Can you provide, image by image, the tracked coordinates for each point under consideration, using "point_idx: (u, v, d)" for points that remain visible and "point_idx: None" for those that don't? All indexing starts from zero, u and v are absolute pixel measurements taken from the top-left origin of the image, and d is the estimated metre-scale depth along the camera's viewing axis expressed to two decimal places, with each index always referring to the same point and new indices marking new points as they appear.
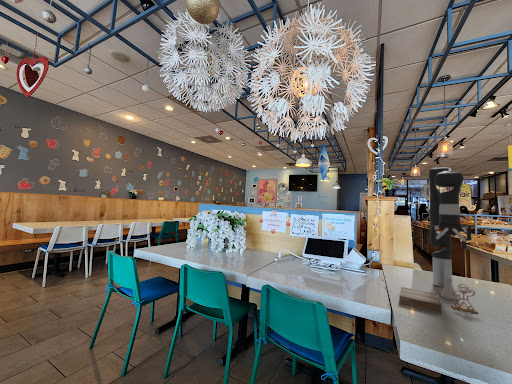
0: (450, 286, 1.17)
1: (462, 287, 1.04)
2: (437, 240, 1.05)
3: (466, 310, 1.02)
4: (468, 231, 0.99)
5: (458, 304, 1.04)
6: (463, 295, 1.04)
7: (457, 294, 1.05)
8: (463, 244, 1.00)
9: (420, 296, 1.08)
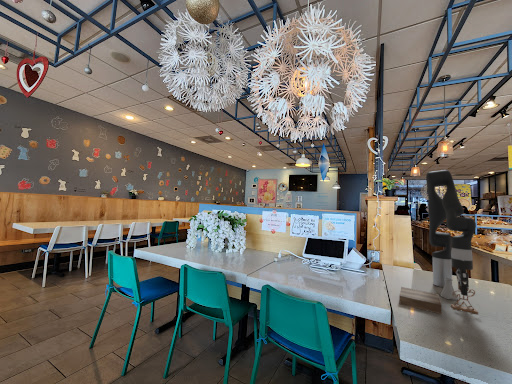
0: (450, 286, 1.17)
1: None
2: (466, 288, 1.00)
3: (466, 310, 1.02)
4: None
5: (458, 304, 1.04)
6: (463, 295, 1.04)
7: (457, 294, 1.05)
8: None
9: (420, 296, 1.08)
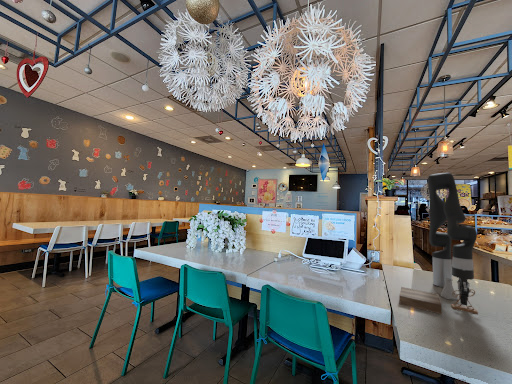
0: (450, 286, 1.17)
1: None
2: (466, 298, 1.03)
3: (466, 310, 1.02)
4: None
5: (458, 304, 1.05)
6: None
7: (457, 294, 1.06)
8: None
9: (420, 296, 1.08)
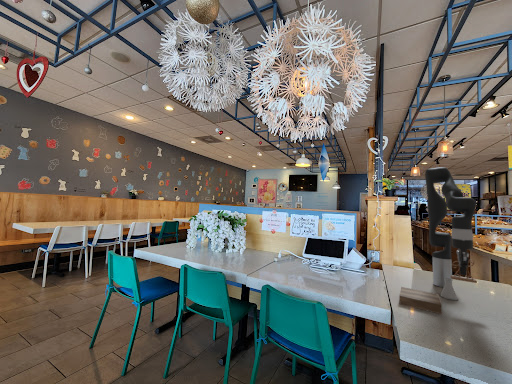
0: (450, 286, 1.17)
1: None
2: (465, 268, 1.04)
3: (465, 279, 1.03)
4: None
5: (457, 274, 1.06)
6: None
7: (456, 265, 1.07)
8: None
9: (420, 296, 1.08)
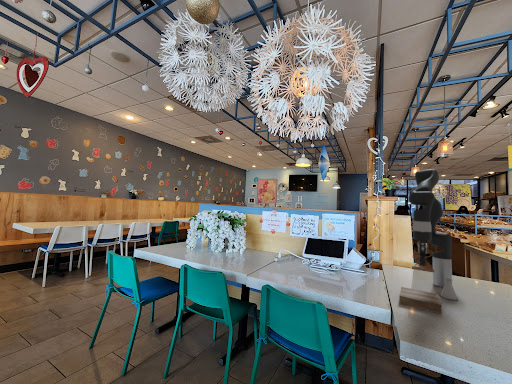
0: (450, 286, 1.17)
1: None
2: (424, 259, 1.09)
3: (424, 269, 1.08)
4: None
5: None
6: None
7: None
8: None
9: (420, 296, 1.08)
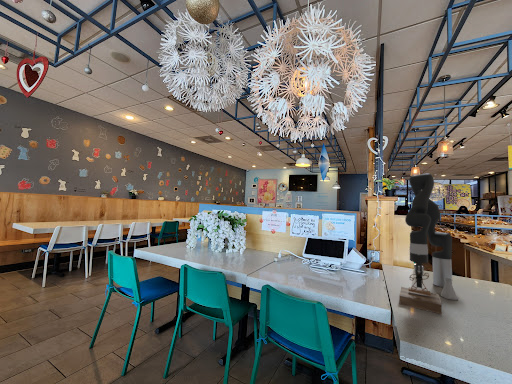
0: (450, 286, 1.17)
1: None
2: (421, 281, 1.09)
3: (420, 292, 1.08)
4: None
5: None
6: None
7: None
8: None
9: (420, 296, 1.08)
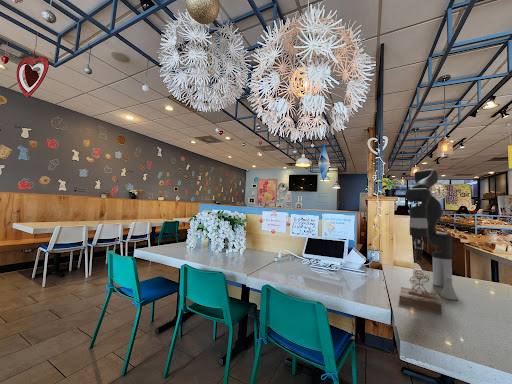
0: (450, 286, 1.17)
1: (418, 273, 1.11)
2: (421, 254, 1.07)
3: (420, 295, 1.08)
4: None
5: (414, 289, 1.11)
6: (419, 281, 1.10)
7: (414, 280, 1.12)
8: None
9: (420, 296, 1.08)
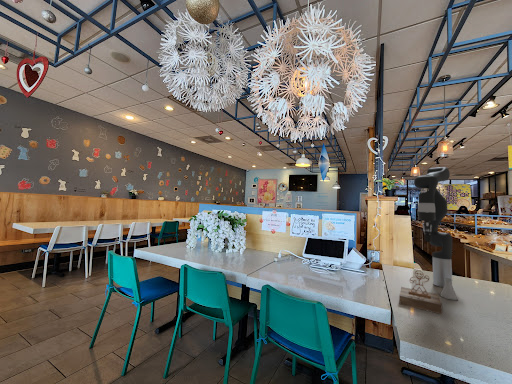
0: (450, 286, 1.17)
1: (418, 273, 1.11)
2: (429, 236, 1.16)
3: (420, 295, 1.08)
4: None
5: (414, 289, 1.11)
6: (419, 281, 1.10)
7: (414, 280, 1.12)
8: None
9: (420, 296, 1.08)
